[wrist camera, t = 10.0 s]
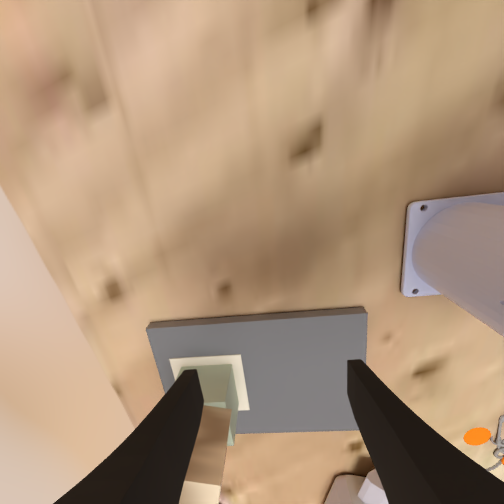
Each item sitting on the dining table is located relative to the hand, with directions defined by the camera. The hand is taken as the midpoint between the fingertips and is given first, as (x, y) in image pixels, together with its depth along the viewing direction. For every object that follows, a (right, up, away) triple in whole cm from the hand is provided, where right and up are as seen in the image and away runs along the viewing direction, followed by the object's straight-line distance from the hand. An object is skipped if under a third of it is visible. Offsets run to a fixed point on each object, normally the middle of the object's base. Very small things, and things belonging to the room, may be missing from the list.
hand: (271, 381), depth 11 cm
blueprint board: (0, -6, +13) cm, 15 cm away
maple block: (-5, -9, +9) cm, 13 cm away
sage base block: (-5, -7, +12) cm, 15 cm away
